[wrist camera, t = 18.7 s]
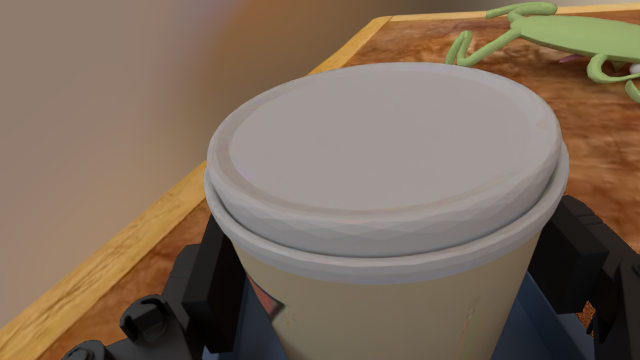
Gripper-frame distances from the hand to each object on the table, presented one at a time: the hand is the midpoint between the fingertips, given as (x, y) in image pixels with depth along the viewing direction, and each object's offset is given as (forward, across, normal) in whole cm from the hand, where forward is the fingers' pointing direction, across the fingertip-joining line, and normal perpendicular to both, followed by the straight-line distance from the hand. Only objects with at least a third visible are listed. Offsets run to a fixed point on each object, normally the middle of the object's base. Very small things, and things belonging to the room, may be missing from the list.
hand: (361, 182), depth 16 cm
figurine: (+29, +27, -8) cm, 40 cm away
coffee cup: (-4, 0, -7) cm, 8 cm away
